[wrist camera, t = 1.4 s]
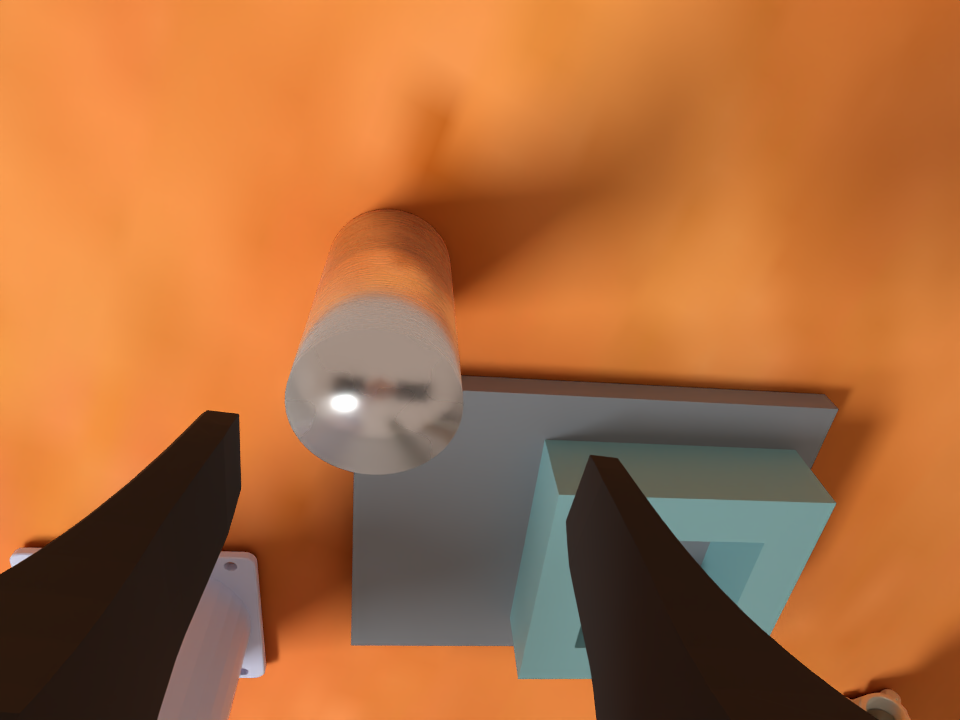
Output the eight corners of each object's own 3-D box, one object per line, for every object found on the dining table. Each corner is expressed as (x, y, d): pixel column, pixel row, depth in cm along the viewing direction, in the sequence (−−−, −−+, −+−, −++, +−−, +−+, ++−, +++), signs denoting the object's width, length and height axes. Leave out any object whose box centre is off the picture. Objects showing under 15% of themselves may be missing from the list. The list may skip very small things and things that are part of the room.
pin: (328, 318, 23) (288, 471, 16) (328, 204, 21) (280, 322, 14) (445, 325, 23) (455, 477, 16) (455, 214, 21) (471, 334, 14)
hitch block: (353, 626, 31) (344, 709, 27) (357, 370, 24) (346, 438, 20) (720, 628, 33) (755, 705, 30) (824, 394, 26) (886, 459, 22)
